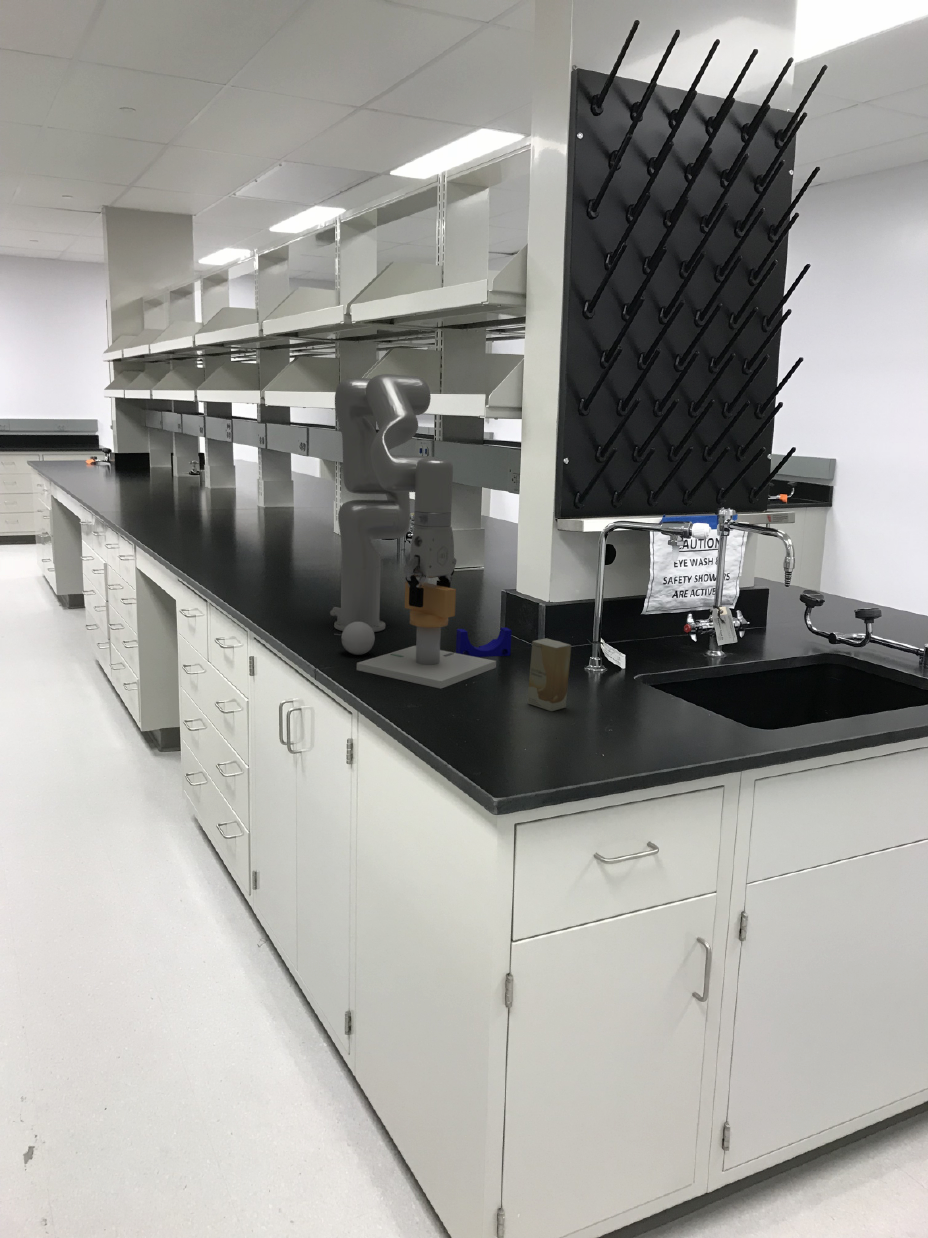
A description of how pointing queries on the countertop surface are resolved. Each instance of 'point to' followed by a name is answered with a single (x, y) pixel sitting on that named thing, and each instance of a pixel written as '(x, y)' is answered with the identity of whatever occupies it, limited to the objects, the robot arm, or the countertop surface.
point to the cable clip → (493, 648)
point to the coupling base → (427, 671)
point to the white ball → (358, 638)
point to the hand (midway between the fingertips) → (429, 603)
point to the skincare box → (549, 674)
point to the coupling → (432, 606)
